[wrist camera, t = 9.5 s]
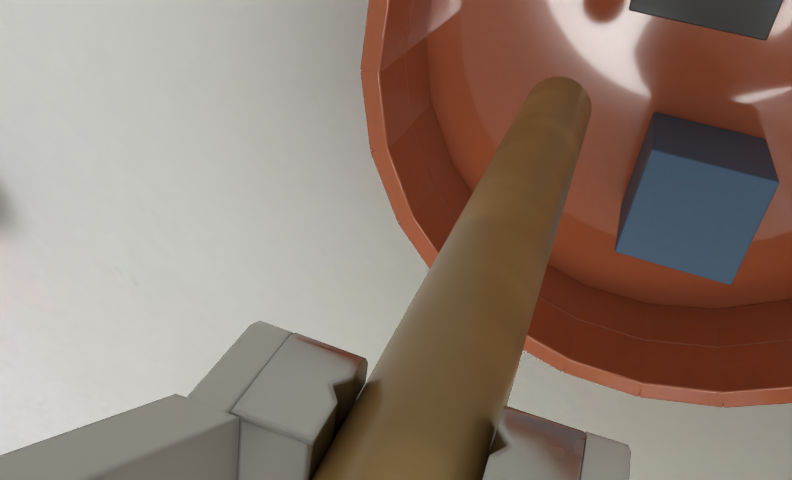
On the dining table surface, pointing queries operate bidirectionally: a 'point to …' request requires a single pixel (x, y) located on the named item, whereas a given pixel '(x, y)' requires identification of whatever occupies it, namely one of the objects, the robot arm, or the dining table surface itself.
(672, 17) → the charcoal block
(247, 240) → the dining table surface
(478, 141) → the mixing bowl
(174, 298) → the dining table surface
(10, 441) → the dining table surface
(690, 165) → the blue block
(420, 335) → the stirring stick
